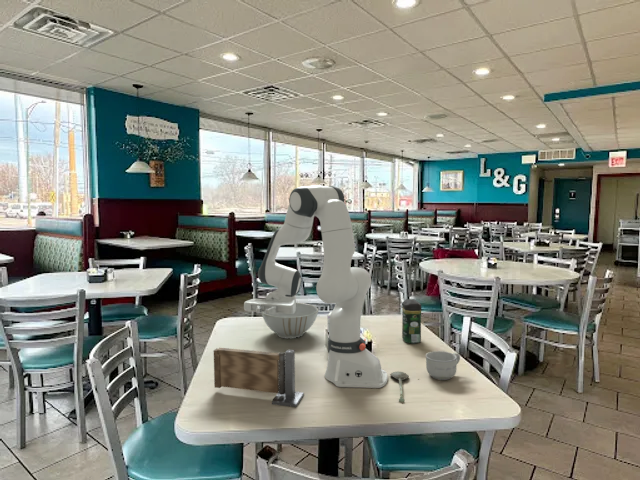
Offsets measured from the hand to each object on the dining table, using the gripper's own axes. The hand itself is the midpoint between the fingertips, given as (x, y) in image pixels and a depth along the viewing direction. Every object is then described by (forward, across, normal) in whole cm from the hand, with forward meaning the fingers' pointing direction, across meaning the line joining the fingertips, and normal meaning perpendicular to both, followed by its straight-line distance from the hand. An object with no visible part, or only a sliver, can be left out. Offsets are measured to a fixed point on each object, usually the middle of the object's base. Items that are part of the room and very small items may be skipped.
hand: (262, 311), depth 155 cm
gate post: (+21, +17, +22) cm, 35 cm away
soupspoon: (+3, +51, +23) cm, 56 cm away
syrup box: (-31, +21, +22) cm, 43 cm away
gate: (+21, +4, +20) cm, 30 cm away
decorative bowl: (-41, -3, +22) cm, 47 cm away
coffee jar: (-46, +53, +22) cm, 74 cm away
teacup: (-10, +66, +22) cm, 70 cm away
